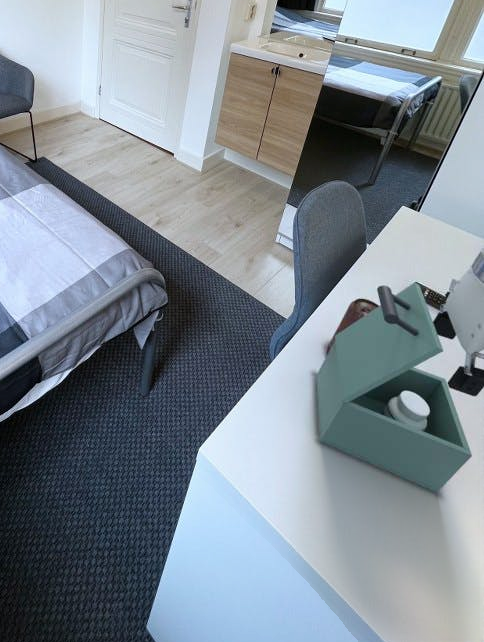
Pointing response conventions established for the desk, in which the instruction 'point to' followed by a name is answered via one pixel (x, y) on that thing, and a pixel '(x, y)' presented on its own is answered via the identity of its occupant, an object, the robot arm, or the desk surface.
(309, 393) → the desk surface
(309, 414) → the desk surface
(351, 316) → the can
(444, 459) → the teal lidded box
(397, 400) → the pill bottle
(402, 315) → the lid
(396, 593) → the desk surface
